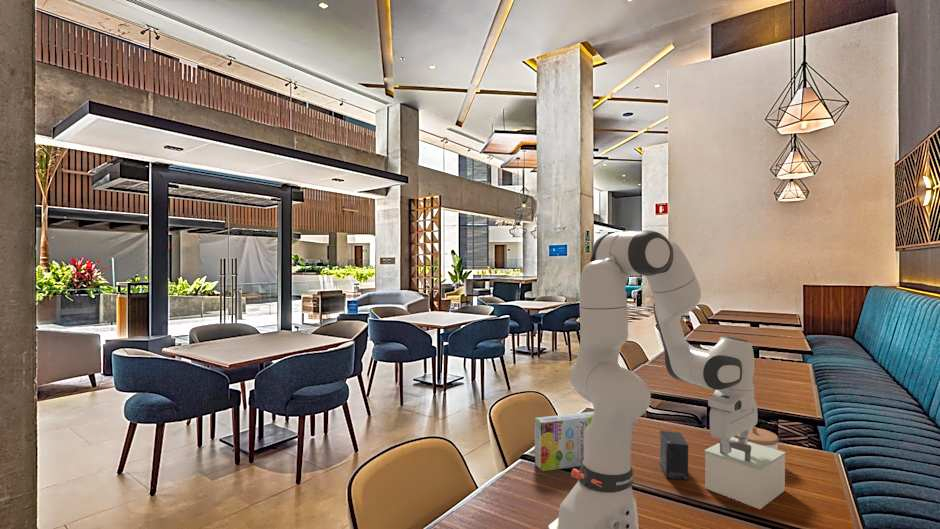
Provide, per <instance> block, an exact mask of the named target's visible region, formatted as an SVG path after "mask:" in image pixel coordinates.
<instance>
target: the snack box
mask: <svg viewBox="0 0 940 529" xmlns="http://www.w3.org/2000/svg"><path fill="white" fill-rule="evenodd" d="M593 413H594V411H587V412H577V413H567V414H560V415H559V414H558V415H549V416H539V417H534V418H533V419H534V420H533V422H534V426H533V427H534V465H535V466H536V467H537V468H538V469H539V470H540V471H541V472H546V471H547V472H548V471H554V470H561V469H562V470H563V469H569V468H578V467H581V465H582V462H583V460H584V438H583V434H584V430H585V428H586V427H587V426H588V425H590V424H591V421H592V418H593Z"/></svg>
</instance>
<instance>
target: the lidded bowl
mask: <svg viewBox="0 0 940 529" xmlns="http://www.w3.org/2000/svg"><path fill="white" fill-rule="evenodd" d="M739 436H740V433H739V434H737V435H735V436H733V437H734V438H738V437H739ZM747 441H748V442H752V443H755V444H759V445H762V446H766V447H769V448H773V449H776V450H779V449H778V446H779V437H778V435H777V434H776V433H774V432H772V431H771V430H767V429H765V428H759V427H756V426H753V427H751V428H750V432H749V435H748V438H747Z"/></svg>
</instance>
